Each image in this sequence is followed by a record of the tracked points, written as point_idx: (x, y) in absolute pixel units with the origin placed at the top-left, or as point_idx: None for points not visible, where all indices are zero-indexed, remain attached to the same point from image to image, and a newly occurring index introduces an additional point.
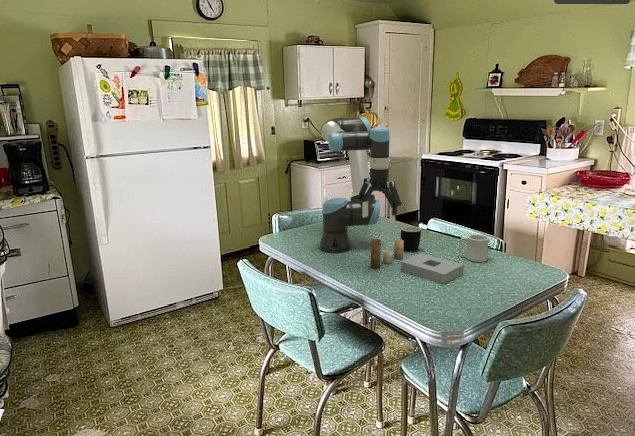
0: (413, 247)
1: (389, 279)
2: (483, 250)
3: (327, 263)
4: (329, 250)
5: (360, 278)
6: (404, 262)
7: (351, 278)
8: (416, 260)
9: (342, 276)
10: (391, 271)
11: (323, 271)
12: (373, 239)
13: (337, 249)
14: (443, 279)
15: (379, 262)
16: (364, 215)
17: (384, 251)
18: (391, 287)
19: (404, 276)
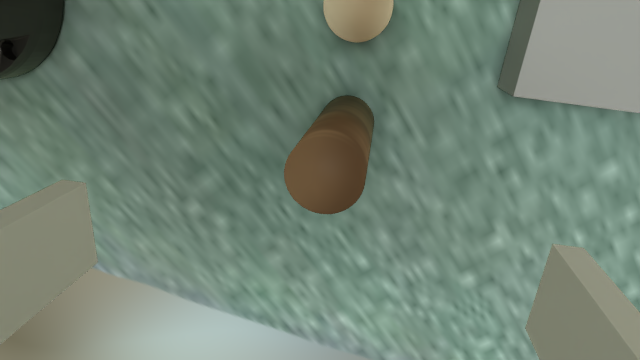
0: None
1: (489, 221)
2: None
3: (132, 204)
4: (11, 75)
5: (363, 275)
6: (540, 96)
7: (331, 292)
8: (611, 6)
9: (287, 292)
10: (451, 123)
11: (189, 286)
12: (299, 172)
13: (34, 52)
14: None
15: (372, 133)
16: (78, 266)
17: (338, 17)
18: None
19: (547, 147)
